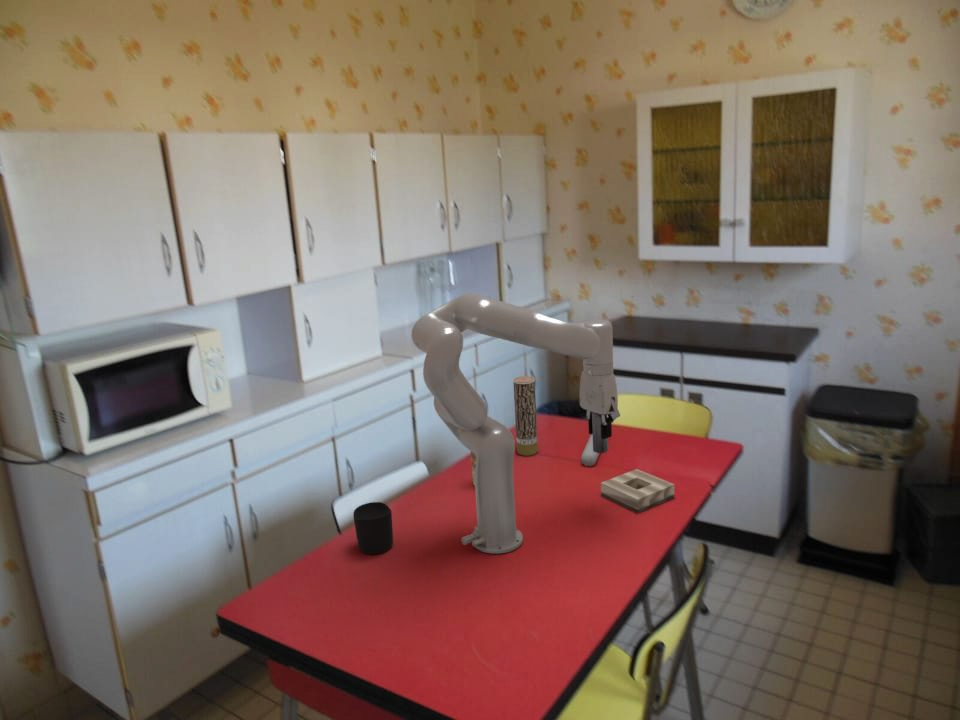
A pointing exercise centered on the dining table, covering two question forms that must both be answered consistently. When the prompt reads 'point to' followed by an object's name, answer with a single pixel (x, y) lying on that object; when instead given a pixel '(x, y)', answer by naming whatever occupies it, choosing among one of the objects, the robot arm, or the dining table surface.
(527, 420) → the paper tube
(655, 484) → the socket block
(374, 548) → the pen holder
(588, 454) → the tube
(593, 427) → the steel peg
